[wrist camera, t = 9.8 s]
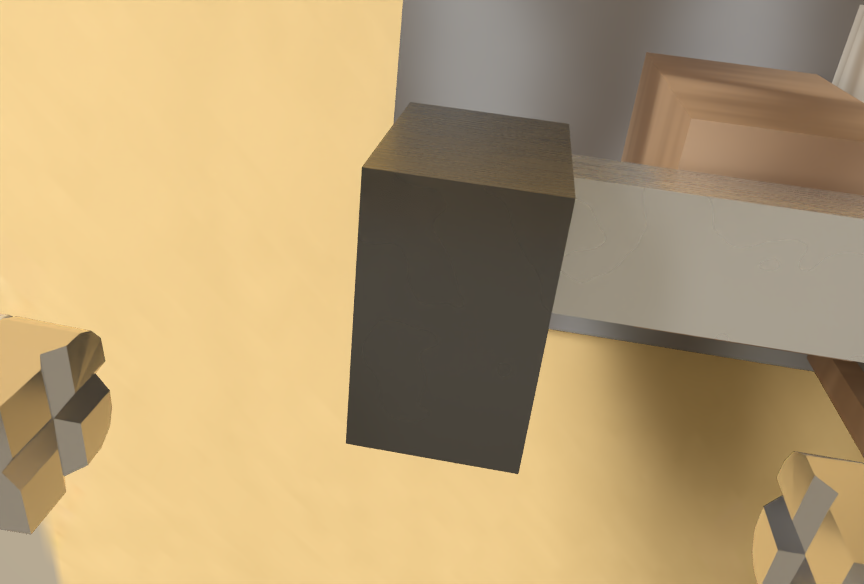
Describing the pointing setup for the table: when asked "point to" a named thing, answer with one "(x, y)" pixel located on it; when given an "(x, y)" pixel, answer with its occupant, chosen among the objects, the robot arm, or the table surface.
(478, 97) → the shaft stand
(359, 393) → the steel shaft
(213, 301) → the table surface
